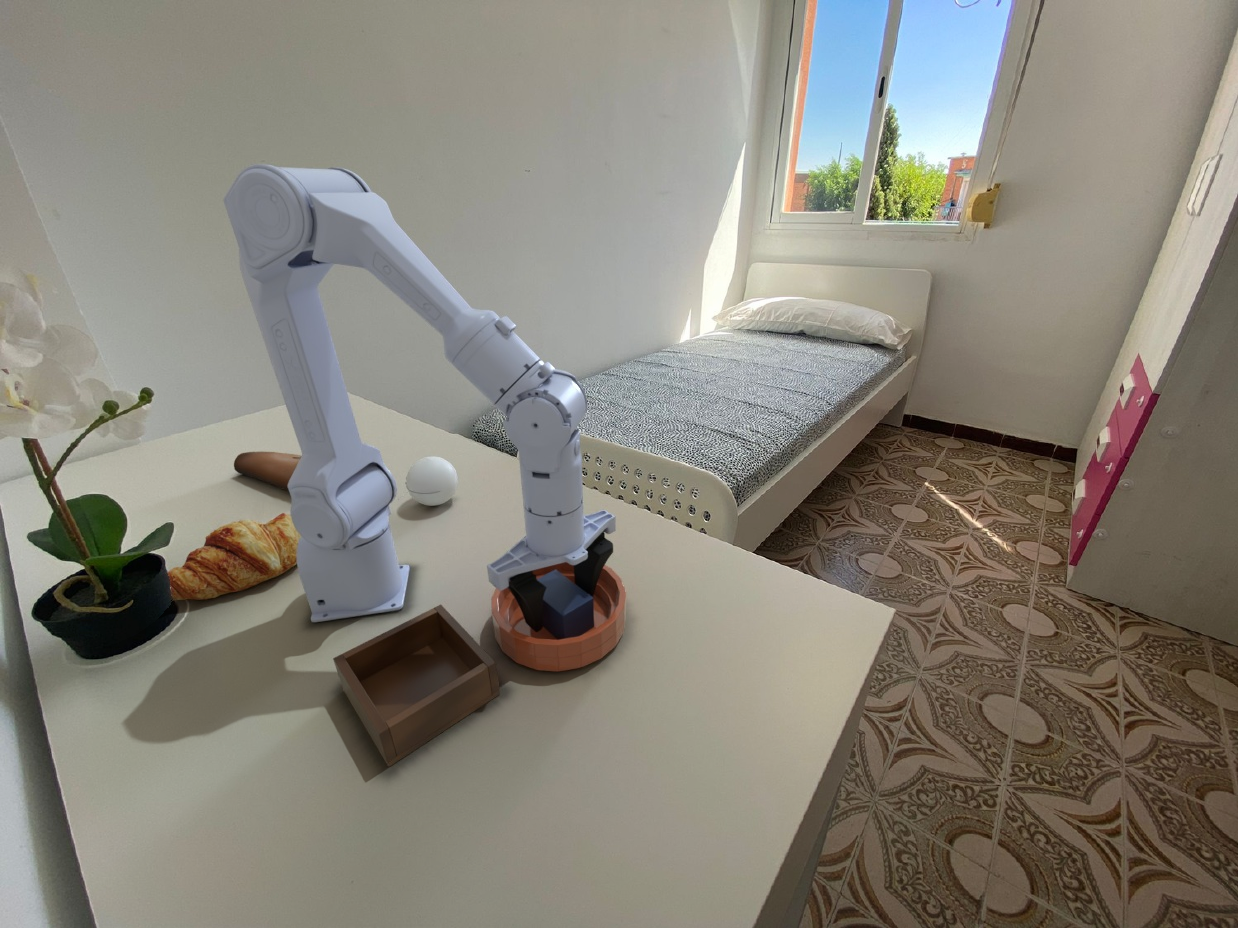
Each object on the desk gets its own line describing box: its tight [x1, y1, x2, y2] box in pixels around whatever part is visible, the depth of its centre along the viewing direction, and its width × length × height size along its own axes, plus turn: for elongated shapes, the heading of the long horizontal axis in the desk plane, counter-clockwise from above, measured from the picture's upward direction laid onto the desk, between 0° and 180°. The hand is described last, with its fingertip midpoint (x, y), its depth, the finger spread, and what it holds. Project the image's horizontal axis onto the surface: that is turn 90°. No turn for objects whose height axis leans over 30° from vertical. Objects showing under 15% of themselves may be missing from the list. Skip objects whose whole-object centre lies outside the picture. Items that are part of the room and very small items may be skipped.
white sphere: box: [398, 456, 459, 507], centre depth 80 cm, size 10×7×7 cm
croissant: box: [166, 512, 301, 601], centre depth 67 cm, size 21×10×8 cm, turn 141°
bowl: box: [490, 562, 627, 672], centre depth 58 cm, size 14×14×4 cm
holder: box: [332, 604, 501, 768], centre depth 50 cm, size 11×11×4 cm
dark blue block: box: [537, 569, 594, 640], centre depth 58 cm, size 4×6×4 cm, turn 43°
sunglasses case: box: [233, 451, 302, 493], centre depth 88 cm, size 18×7×7 cm, turn 61°
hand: (560, 610), depth 58 cm, fingers open, 6 cm apart
